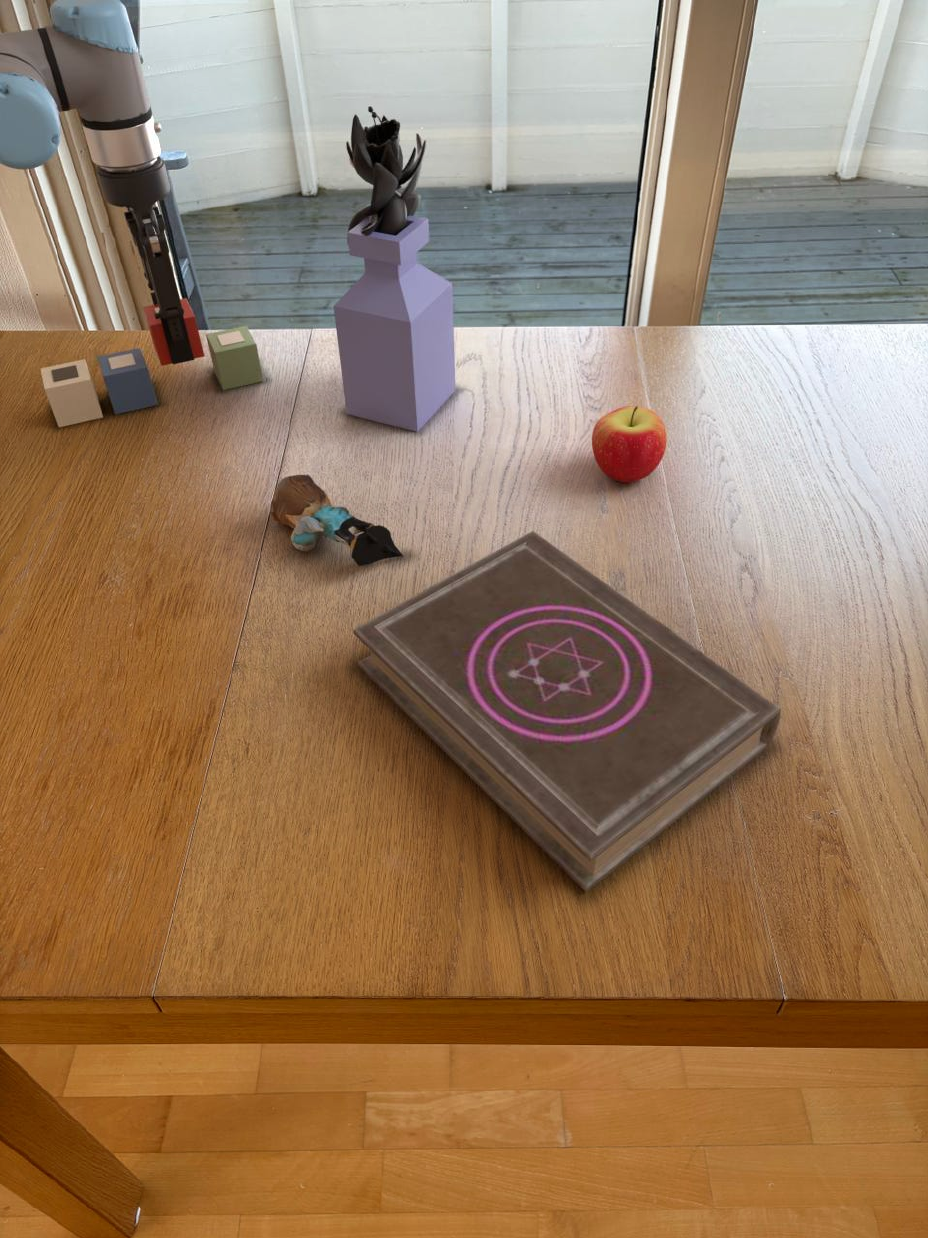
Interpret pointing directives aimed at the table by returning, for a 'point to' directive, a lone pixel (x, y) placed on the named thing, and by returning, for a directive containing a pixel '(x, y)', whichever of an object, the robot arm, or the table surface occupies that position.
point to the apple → (629, 443)
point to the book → (566, 702)
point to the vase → (393, 293)
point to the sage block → (234, 357)
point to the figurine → (327, 521)
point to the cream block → (71, 393)
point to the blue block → (127, 380)
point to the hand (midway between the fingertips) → (178, 349)
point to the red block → (159, 335)
